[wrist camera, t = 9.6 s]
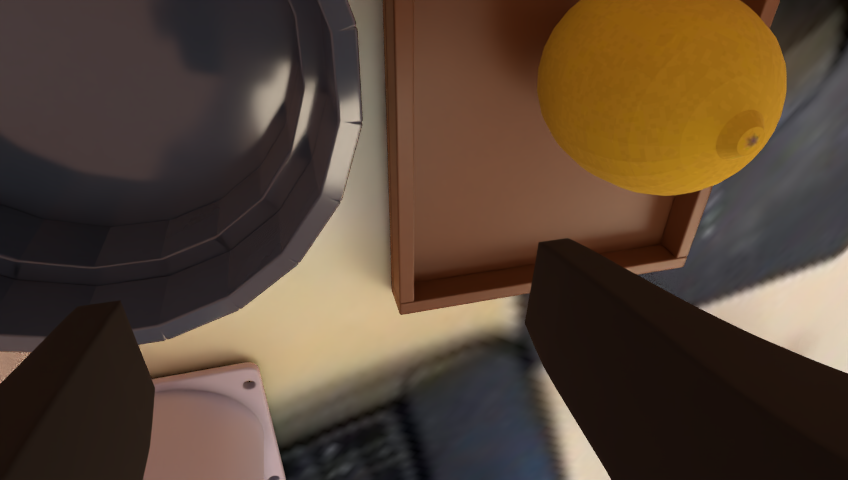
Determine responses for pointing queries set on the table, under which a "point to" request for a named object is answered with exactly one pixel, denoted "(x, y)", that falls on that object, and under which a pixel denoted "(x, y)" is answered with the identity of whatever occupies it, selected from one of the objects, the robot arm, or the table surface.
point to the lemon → (661, 90)
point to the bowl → (166, 154)
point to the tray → (499, 160)
